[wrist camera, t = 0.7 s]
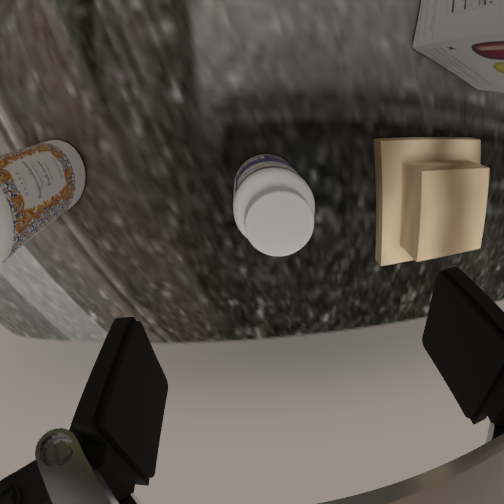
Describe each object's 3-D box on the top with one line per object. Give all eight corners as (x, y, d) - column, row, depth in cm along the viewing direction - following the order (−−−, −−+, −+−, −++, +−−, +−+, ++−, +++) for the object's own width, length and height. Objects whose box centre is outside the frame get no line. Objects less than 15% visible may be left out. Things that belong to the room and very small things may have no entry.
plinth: (471, 137, 24) (503, 146, 20) (464, 242, 30) (489, 262, 25) (373, 138, 25) (399, 147, 20) (375, 259, 30) (395, 285, 25)
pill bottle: (290, 217, 28) (314, 273, 19) (230, 209, 27) (226, 263, 18) (302, 158, 25) (336, 188, 17) (238, 148, 25) (238, 172, 16)
